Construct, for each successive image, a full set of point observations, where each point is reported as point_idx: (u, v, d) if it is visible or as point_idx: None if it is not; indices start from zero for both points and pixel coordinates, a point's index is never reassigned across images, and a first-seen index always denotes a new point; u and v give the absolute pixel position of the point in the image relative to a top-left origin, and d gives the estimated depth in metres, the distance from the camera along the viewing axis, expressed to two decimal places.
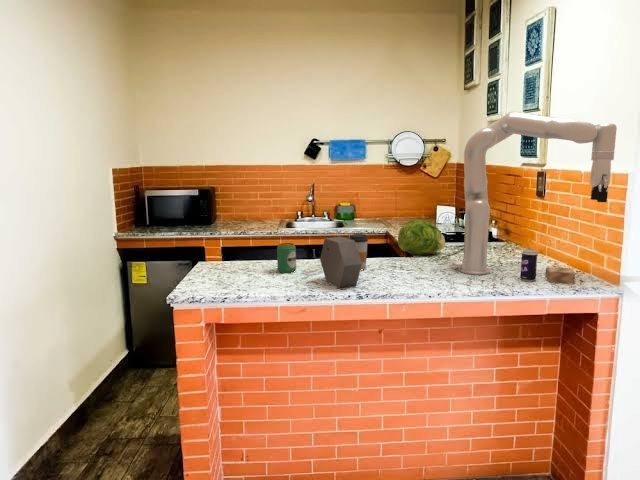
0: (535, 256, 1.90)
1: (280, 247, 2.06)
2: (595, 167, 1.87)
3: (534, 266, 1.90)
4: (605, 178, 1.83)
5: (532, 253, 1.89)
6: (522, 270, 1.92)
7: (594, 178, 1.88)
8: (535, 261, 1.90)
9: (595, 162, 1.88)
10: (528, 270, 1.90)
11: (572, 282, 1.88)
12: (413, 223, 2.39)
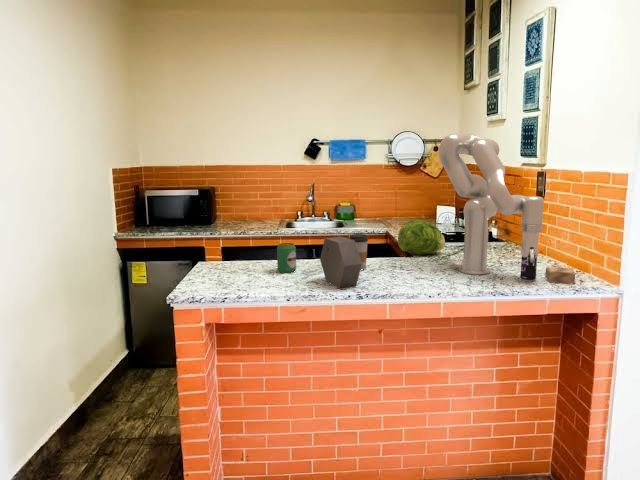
0: None
1: (280, 247, 2.06)
2: (524, 239, 1.89)
3: None
4: (531, 254, 1.86)
5: None
6: (522, 270, 1.92)
7: (523, 250, 1.90)
8: (535, 261, 1.90)
9: (524, 234, 1.90)
10: None
11: (572, 282, 1.88)
12: (413, 223, 2.39)
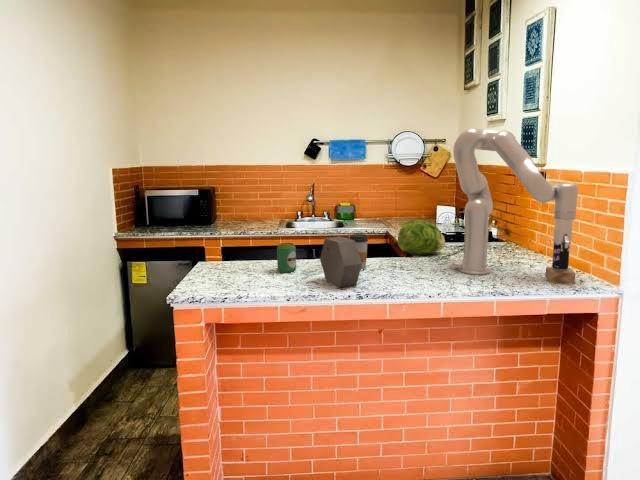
0: None
1: (280, 247, 2.06)
2: (557, 226, 1.88)
3: None
4: (566, 239, 1.84)
5: None
6: (554, 259, 1.91)
7: (556, 237, 1.88)
8: None
9: (557, 221, 1.88)
10: None
11: (572, 282, 1.88)
12: (413, 223, 2.39)
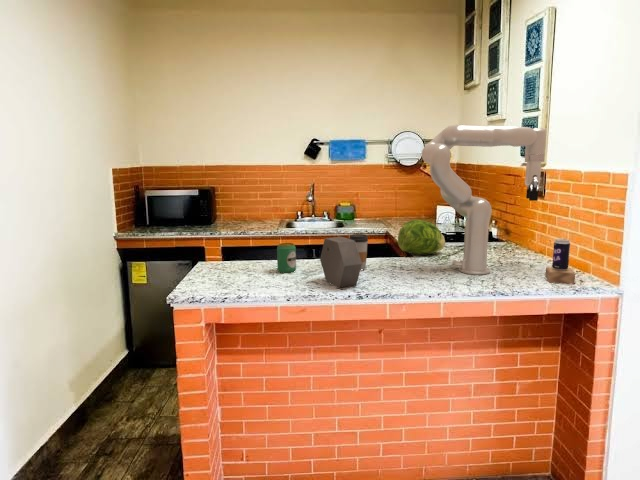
0: (568, 245, 1.88)
1: (280, 247, 2.06)
2: (527, 168, 2.03)
3: (567, 255, 1.89)
4: (535, 178, 1.99)
5: (565, 242, 1.88)
6: (554, 259, 1.91)
7: (526, 178, 2.03)
8: (568, 250, 1.89)
9: (527, 164, 2.03)
10: (561, 260, 1.89)
11: (572, 282, 1.88)
12: (413, 223, 2.39)
